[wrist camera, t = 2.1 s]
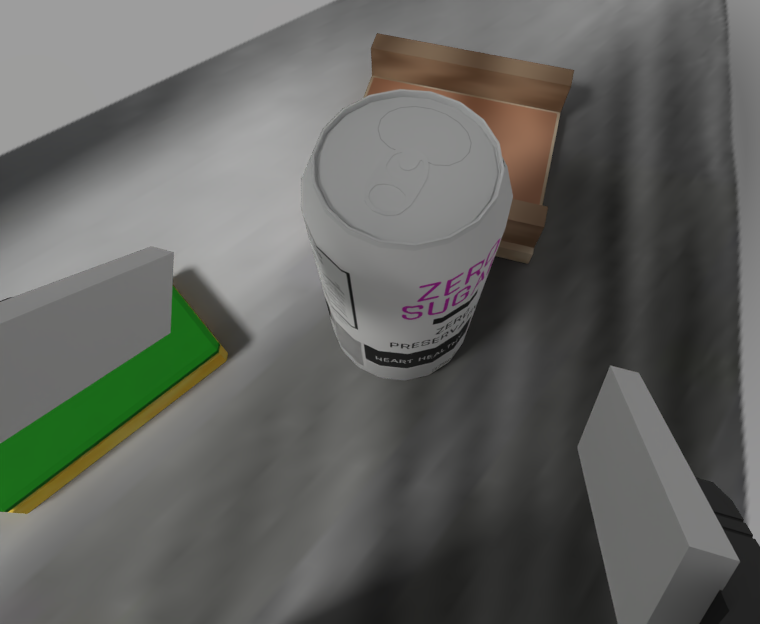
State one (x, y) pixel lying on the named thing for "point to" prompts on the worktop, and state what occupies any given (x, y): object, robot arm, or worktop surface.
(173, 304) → the dish sponge
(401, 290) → the supplement can
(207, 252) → the worktop surface
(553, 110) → the groove board
